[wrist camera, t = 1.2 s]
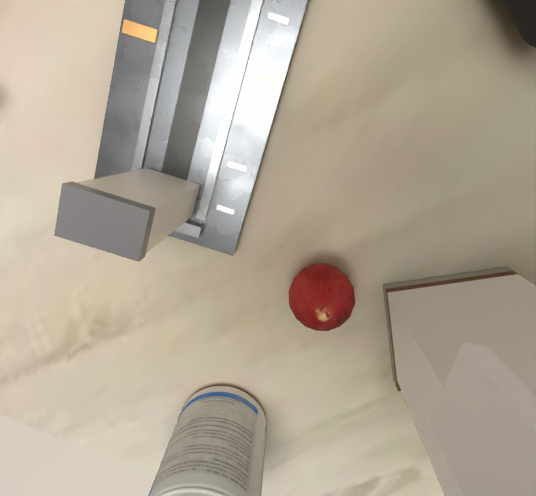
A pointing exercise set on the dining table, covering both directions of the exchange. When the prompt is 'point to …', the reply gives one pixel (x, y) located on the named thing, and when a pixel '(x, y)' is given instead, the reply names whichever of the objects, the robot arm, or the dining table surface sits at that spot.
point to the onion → (321, 297)
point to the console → (199, 100)
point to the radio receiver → (524, 18)
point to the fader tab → (125, 211)
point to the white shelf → (456, 339)
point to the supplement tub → (215, 447)
